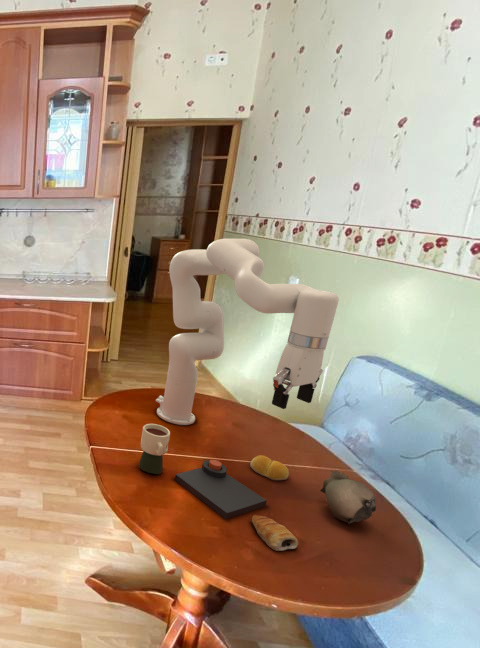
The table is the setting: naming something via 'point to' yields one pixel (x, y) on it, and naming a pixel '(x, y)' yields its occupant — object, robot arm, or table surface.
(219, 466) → the button
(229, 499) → the scale
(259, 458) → the bread roll
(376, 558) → the table surface
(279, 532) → the pastry
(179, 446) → the table surface
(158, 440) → the character mug
